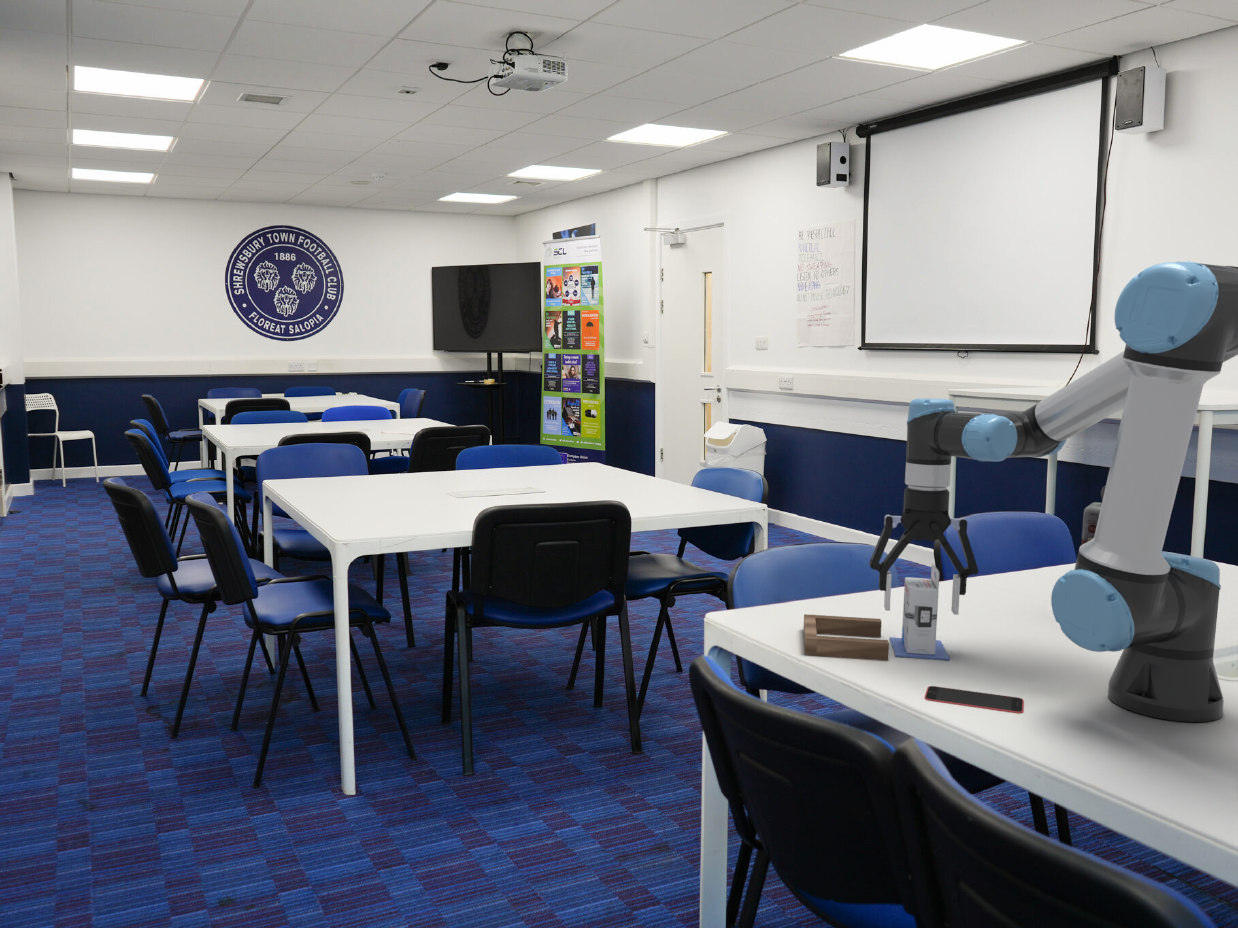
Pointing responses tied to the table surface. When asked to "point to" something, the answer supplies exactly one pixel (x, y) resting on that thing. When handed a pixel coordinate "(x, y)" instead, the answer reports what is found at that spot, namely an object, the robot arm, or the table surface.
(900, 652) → the pad
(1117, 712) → the table surface
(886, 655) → the bay
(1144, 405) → the robot arm
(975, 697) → the smartphone
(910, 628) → the ink box
